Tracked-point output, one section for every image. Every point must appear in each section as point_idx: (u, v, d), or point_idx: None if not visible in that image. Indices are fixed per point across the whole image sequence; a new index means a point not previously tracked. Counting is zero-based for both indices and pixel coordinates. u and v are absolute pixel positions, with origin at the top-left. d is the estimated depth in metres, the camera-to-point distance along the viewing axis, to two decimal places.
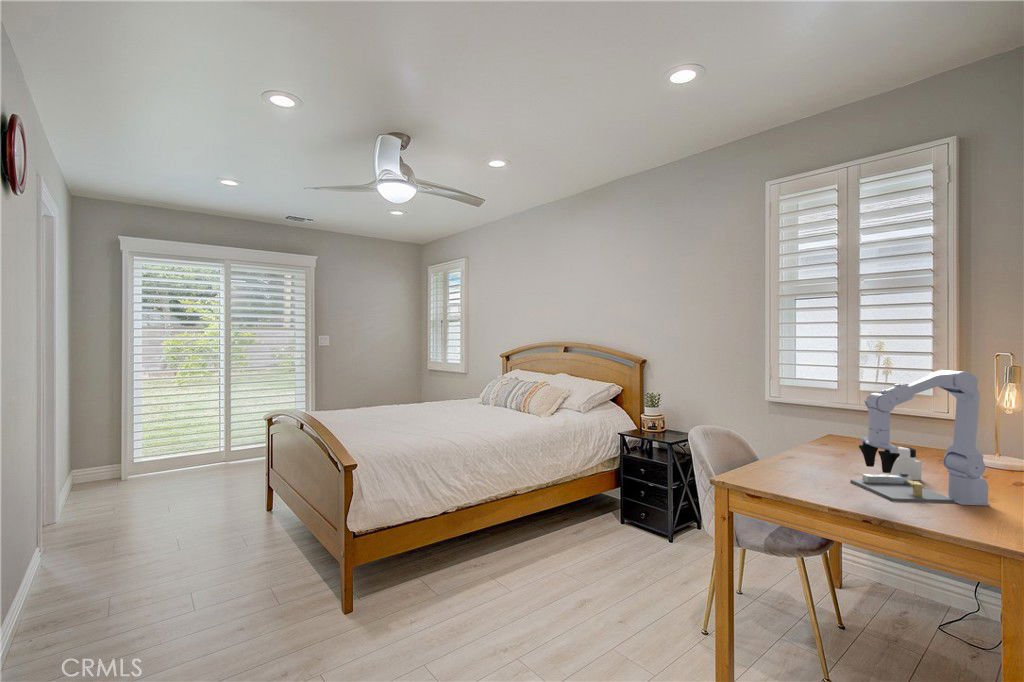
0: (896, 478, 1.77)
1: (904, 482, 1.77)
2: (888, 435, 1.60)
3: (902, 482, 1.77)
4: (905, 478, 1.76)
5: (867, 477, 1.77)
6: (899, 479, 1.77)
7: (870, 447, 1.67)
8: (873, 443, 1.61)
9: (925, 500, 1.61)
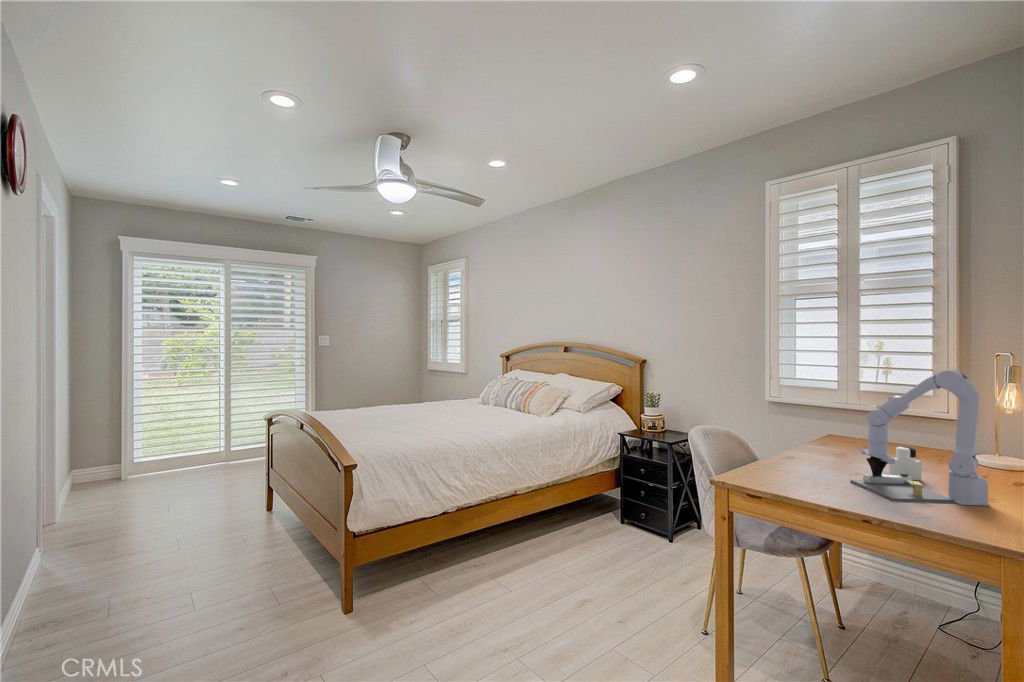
0: (896, 478, 1.77)
1: (904, 482, 1.77)
2: (886, 447, 1.78)
3: (902, 482, 1.77)
4: (905, 478, 1.76)
5: (868, 477, 1.77)
6: (899, 479, 1.77)
7: None
8: (872, 454, 1.79)
9: (925, 500, 1.61)
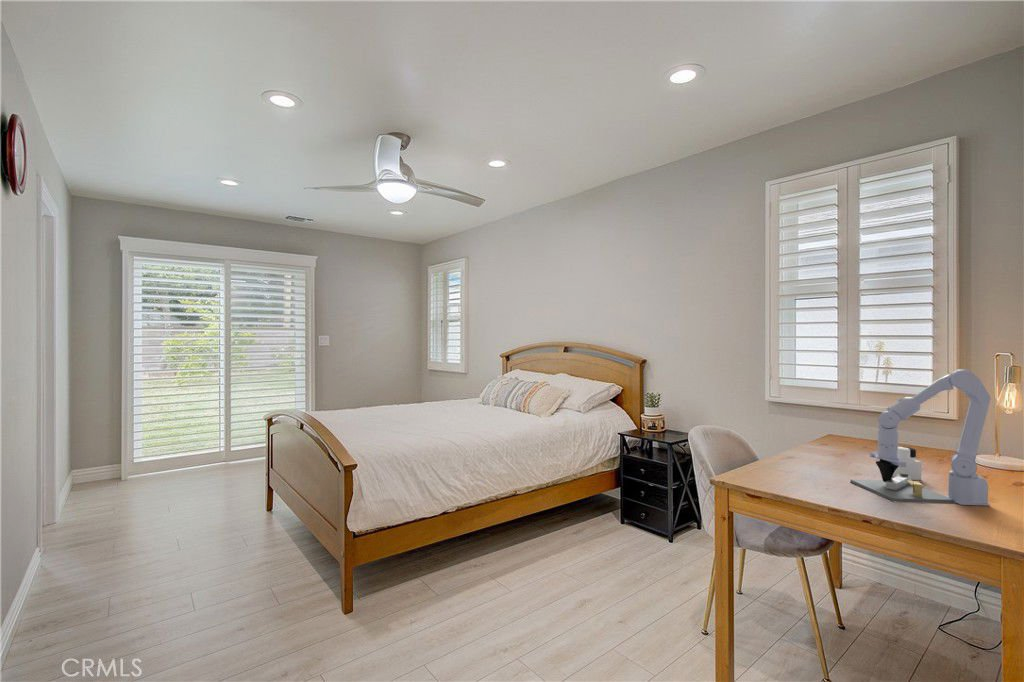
0: (905, 480, 1.75)
1: None
2: (896, 450, 1.73)
3: (907, 483, 1.76)
4: (909, 478, 1.76)
5: (894, 484, 1.69)
6: (906, 480, 1.75)
7: None
8: (882, 457, 1.74)
9: (925, 500, 1.61)
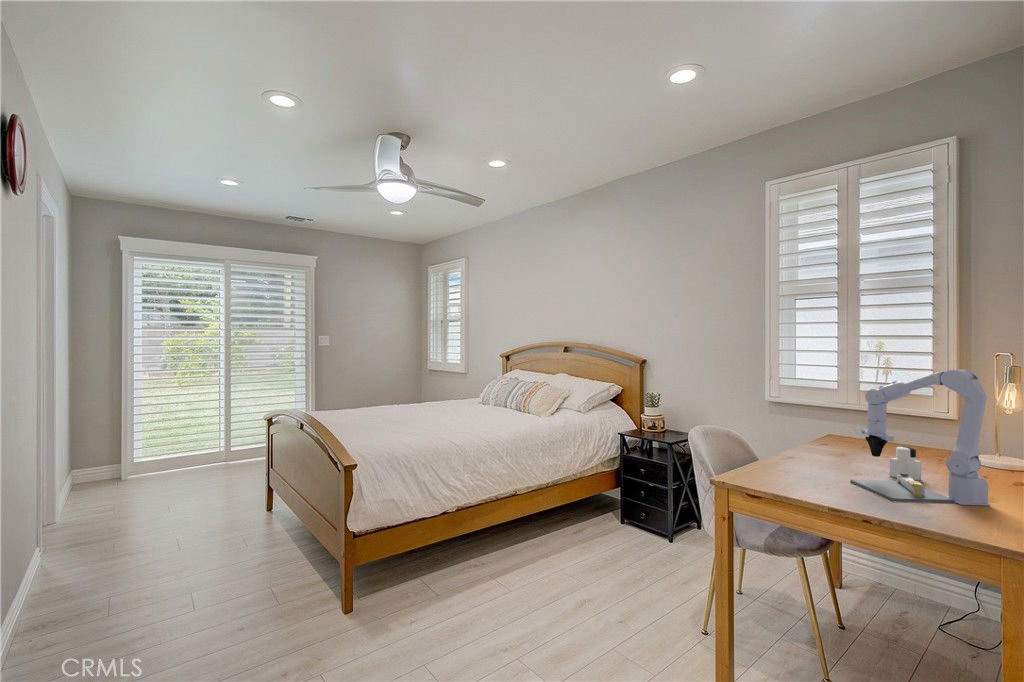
0: None
1: None
2: (885, 426, 1.82)
3: None
4: (910, 478, 1.77)
5: (923, 488, 1.65)
6: None
7: None
8: (871, 433, 1.83)
9: (925, 500, 1.61)
